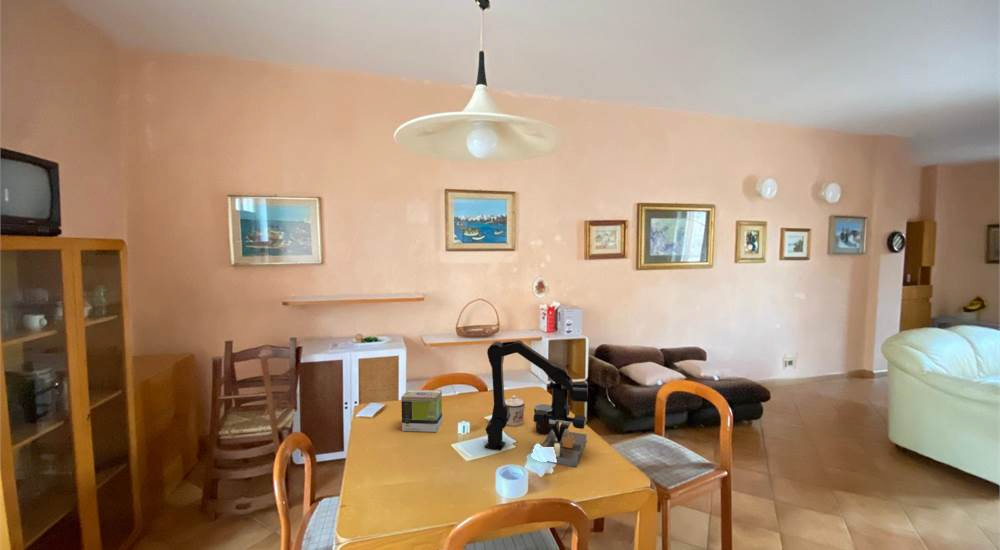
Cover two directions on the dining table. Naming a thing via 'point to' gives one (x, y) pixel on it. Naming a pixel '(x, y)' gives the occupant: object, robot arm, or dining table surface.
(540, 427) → the coffee mug
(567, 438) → the block
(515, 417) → the teacup with lid
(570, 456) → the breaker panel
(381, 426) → the dining table surface
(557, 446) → the cylinder
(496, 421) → the robot arm
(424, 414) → the tea box
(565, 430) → the peg
